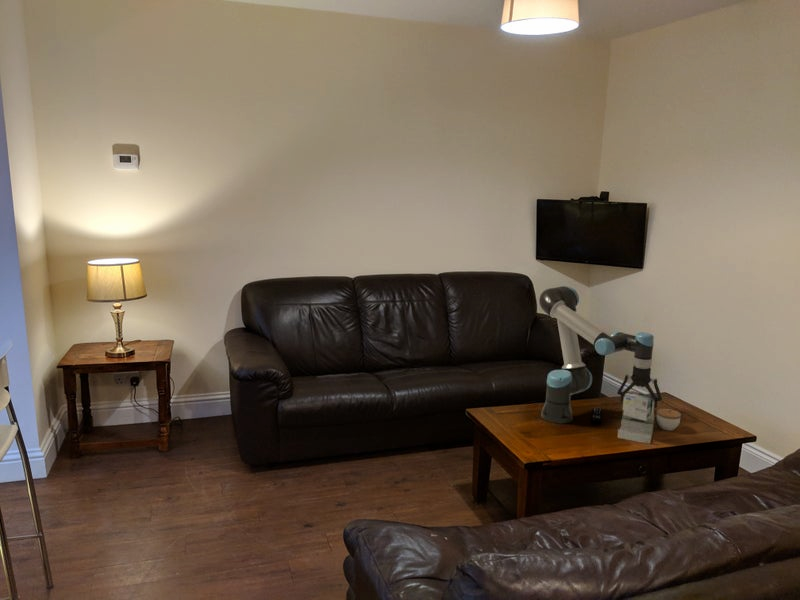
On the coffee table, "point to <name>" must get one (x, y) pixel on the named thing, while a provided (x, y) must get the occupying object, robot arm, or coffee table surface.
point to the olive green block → (650, 421)
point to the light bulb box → (638, 405)
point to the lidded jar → (668, 418)
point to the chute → (635, 431)
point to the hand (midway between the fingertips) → (637, 411)
